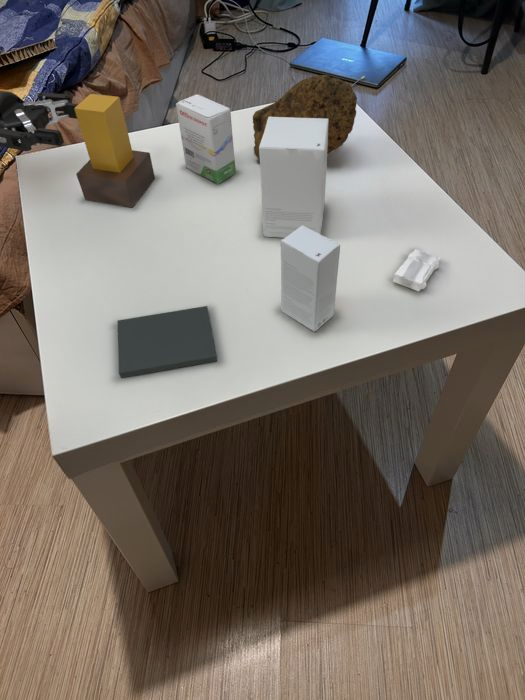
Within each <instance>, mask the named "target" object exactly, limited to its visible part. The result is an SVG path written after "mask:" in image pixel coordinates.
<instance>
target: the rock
mask: <svg viewBox="0 0 525 700" xmlns="http://www.w3.org/2000/svg"><path fill="white" fill-rule="evenodd" d="M357 99H358V97H357V95H356V92H355V91H354V90H353V86H352V85H351V84H350V83H347V82H346V81H345V80H342V79H341V78H339V77H338V78H337V77H331V76H329V75H327V74H321V75H313V76H309V77H305V78H303V79H301V80H300V81H298V82H297V83H296V84H295V83H294V85H293V86H291V88H290V89H288V91H286V92H285V93H284V94H283V95H282V96H281V97H280V98H279V99H277V100H275V102H273V103H272V104H269V105H266V106H264V107H263V108H260V109H258V110H256V111H255V112H254V113H253V115H252V124H253V126H252V127H253V131H254V132H253V138H254V142H253V143H254V146H253V151H254V155H255V157H256V158H257V159H258V160H260V155H259V146H260V143H261V140H262V137H263V134H264V131H265V127H266V124H267V120H268V117H292V118H323V119H328V147H327V156H328V155H330V154H331V153H333V152H334V151H336V150H338V149H339V148H340V147H342V146H343V145H344V143H346V142H347V140H348V138H349V134H351V132H352V131H353V127H354V124H355V119H356V116H357V101H358V100H357Z"/></svg>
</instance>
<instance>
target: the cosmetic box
mask: <svg viewBox="0 0 525 700" xmlns="http://www.w3.org/2000/svg"><path fill="white" fill-rule="evenodd" d="M340 252H341V244H340V243H339V242H337V241H334V240H332V239H330V238H329V237H326V236H325V235H323V234H322V233H321V234H319V233H317V232H315V231H313V230H311V229H309V228H307V227H305V226H303V225H302V226H301V227H299V228H298V229H297V230H295V231H294V232H292V233H291V234H290V235H288V236H287V237H285V238H281V240H280V286H281V287H280V302H281V303H280V306H281V307H280V309H281V312H282V313H283V314H286V316H289V317H290V318H292V319H293V320H295V321H297V322H298V323H300V324H301V325H302V326H304V327H306V328H307V329H309V330H311V331H312V332H315V333H316V331H318V330H319V329H320V328H321V327H322V326H323V325H324V324H325V323H326V322H328V321H329V320H330V319H332V317H334V315H335V306H336V295H337V294H336V293H337V285H338V274H339V266H340V265H339V264H340V254H341V253H340Z"/></svg>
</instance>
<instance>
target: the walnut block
mask: <svg viewBox="0 0 525 700" xmlns="http://www.w3.org/2000/svg"><path fill="white" fill-rule="evenodd" d="M132 152H133V156H134V157H133V158H132V160H131V161H130V162H129V163H128V164H127V165H126V167H125V168H124V169H123V170H122V171H121V172H120V173H118V172H111V171H104V170H98V169H93V167H92V164H91V161H90V159H89V160H88V161H87V162H86V163H85V164H84V165H83V166H82V167H81V168H80V169H79V170H78V171H77V172H76V178H77V181H78V184H79V187H80V189H81V192H82V196H83V198H84V200H85V201H89V202H95V203H101V204H106V205H113V206H118V207H125V208H130V209H133V208H134V207H135V206H136V204H137V203H138V202H139V200H140V199H141V198H142V197H143V195H144V194H145V193H146V192H147V190H148V189H149V187H150V186H151V185H152V183H154V181H155V180H156V176H155V170H154V166H153V162H152V161H153V160H152V157H151V153H150V152H146V151H141V150H133V149H132Z"/></svg>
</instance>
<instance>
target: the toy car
mask: <svg viewBox="0 0 525 700" xmlns="http://www.w3.org/2000/svg"><path fill="white" fill-rule="evenodd" d="M441 259H442V258H441V256H440V257H439V256H437V255H434V254H431V253H428V252H426V251H423V250H420V249H417V248H415V249H414V250H413V251H411V252H410V253H409V254H408V256H407V258H406V259H405V260H404V262H403V263H402V264H401V265H400V267H399V268H398V269H397V271H395V272H394V273H393V278H392V282H394V283H396V284H399V285H401V286H403V287H406V288H409V289H411V290H414V291H417V292H420V291H421V290H424V289H425V288H426V287H427V282H428V280H429V278H430V277H431V275H432V274H433V273H434V271H435V270H437V269H438V268H439V267H440V261H441Z"/></svg>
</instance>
